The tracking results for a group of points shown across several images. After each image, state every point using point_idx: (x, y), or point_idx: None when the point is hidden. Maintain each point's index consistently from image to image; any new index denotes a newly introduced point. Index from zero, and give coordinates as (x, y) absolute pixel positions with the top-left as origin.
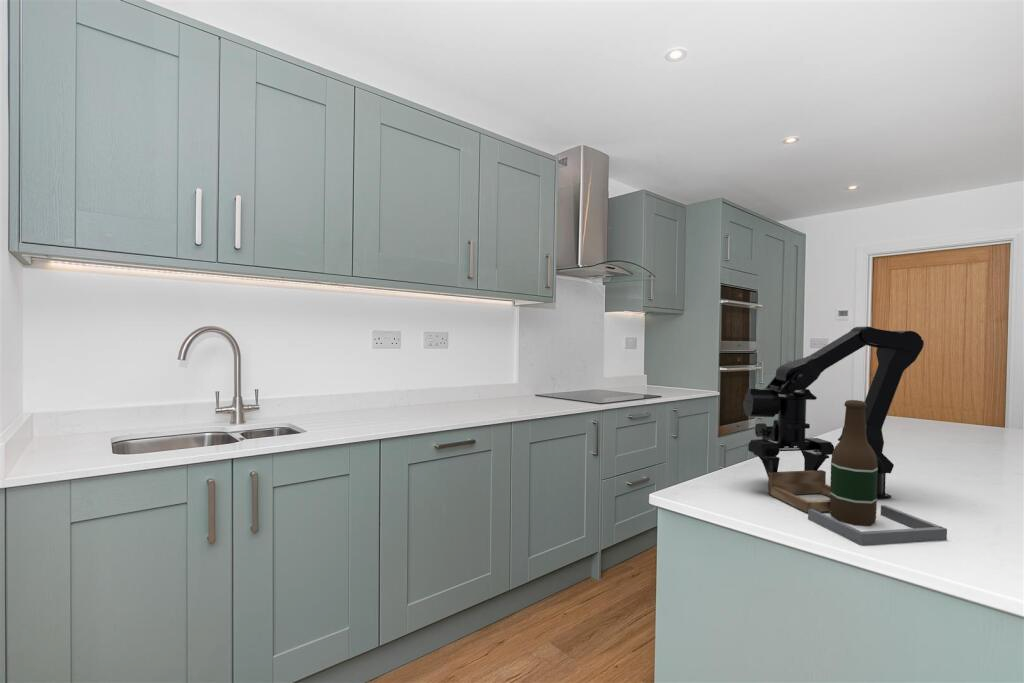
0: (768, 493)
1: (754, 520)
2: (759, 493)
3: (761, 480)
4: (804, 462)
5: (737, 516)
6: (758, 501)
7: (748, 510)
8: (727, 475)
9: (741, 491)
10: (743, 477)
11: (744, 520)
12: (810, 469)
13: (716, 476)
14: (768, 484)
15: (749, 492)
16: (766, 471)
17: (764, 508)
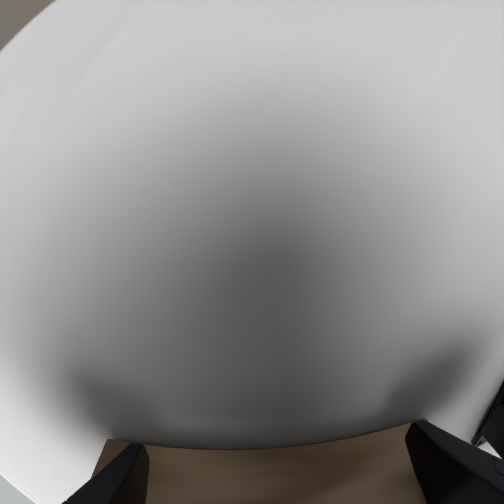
0: (108, 442)
1: (33, 495)
2: (76, 408)
3: (251, 150)
4: (493, 487)
5: (4, 472)
6: (53, 456)
7: (23, 471)
8: (72, 29)
9: (9, 360)
10: (147, 61)
11: (16, 486)
12: (441, 502)
13: (3, 69)
14: (94, 474)
15: (36, 382)
16: (81, 492)
17: (61, 485)
